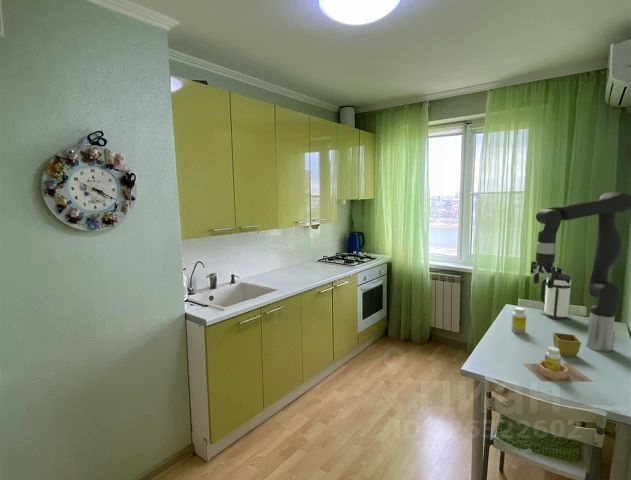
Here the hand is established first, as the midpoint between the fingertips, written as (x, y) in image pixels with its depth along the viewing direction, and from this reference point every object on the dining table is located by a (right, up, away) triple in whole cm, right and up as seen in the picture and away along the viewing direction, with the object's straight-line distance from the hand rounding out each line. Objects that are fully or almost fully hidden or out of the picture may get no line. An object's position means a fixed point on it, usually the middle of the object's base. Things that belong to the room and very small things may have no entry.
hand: (543, 285), depth 165 cm
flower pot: (+9, -33, -2) cm, 34 cm away
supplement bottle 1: (+4, -29, +26) cm, 39 cm away
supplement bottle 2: (-9, -34, -19) cm, 39 cm away
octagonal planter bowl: (-9, -34, -19) cm, 40 cm away
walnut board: (-7, -35, -18) cm, 40 cm away
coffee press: (+38, -25, +48) cm, 66 cm away
